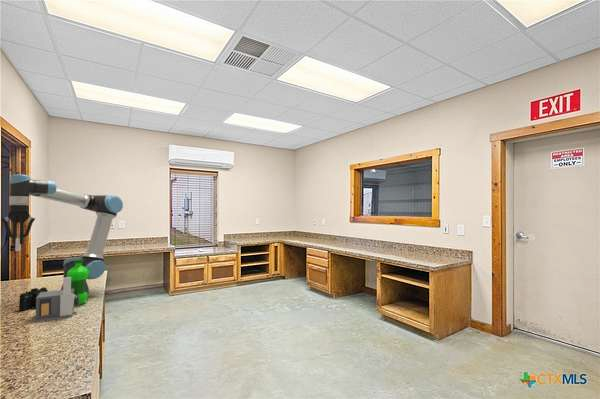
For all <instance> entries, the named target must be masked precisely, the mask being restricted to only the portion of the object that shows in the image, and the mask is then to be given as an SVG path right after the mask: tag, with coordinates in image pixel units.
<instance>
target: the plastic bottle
mask: <svg viewBox="0 0 600 399" xmlns="http://www.w3.org/2000/svg"><path fill="white" fill-rule="evenodd" d="M74 263H75V266H74V267H73V268H71V269H70V270H69V271H68V273H67V277H71V289H74V294H75V296H77V295H79V305H78V306H80V305H83V304H84V303H85V302H86V301H87V300H88V293H87V292H86V282H87V280H88V279H87V278H88V276H89V271H88V269H87V268H85V267H84V266H82V263H83V259H75V260H74Z"/></svg>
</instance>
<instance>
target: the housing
mask: <svg viewBox="0 0 600 399" xmlns="http://www.w3.org/2000/svg"><path fill="white" fill-rule="evenodd" d="M71 294H73V311H74V309H75V307H76V306H80V305H79V295H77V296H75V294H74V289H71ZM61 295H63V290H61V289H59V290H48V291H47V292H40V294H39V295H38V296H37V298H36V308H35V323H36V322H37V323H39V322H45V321H50V320H57V319H63V318H65V319H66V318H71V317H72V316H73V314H72V315H65V316H60V296H61Z"/></svg>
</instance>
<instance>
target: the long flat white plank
mask: <svg viewBox="0 0 600 399" xmlns="http://www.w3.org/2000/svg"><path fill="white" fill-rule="evenodd" d="M62 285H63V295H61V296H60V316H65V315H72V316H73V314H74V310H73V294H71V277H66V278H63V280H62Z"/></svg>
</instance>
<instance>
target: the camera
mask: <svg viewBox="0 0 600 399" xmlns="http://www.w3.org/2000/svg"><path fill="white" fill-rule="evenodd" d="M48 291H49V290H48V289H47V288H46V287H45V286H43V287H41V288H38V287H37V288H36V287H33V288H31V289H30V291H28V290H26V291H25V292H24V293H20V294H19V299H18V301H19V302H18V304H19V306H18V311H19V312H25V311H28V310H31V309H36V298H37V296H38V295H39V294H40V292H48Z"/></svg>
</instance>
